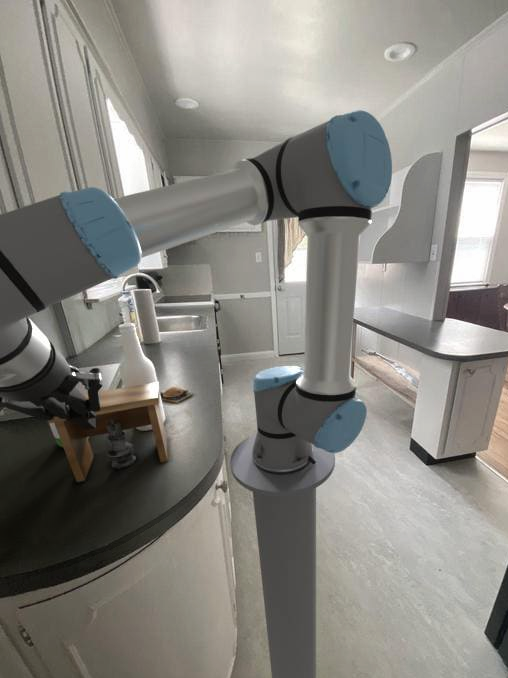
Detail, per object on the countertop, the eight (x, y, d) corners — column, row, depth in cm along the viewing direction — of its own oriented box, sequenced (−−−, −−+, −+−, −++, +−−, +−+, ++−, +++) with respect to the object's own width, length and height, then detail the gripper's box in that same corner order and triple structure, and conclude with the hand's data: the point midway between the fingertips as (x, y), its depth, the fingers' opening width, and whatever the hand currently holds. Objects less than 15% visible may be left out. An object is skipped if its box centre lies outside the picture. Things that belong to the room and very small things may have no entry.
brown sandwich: (194, 395, 110) (193, 385, 109) (176, 404, 103) (174, 394, 102) (173, 390, 115) (172, 381, 113) (155, 398, 108) (153, 389, 106)
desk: (172, 460, 74) (157, 397, 68) (71, 483, 67) (45, 416, 61) (170, 439, 83) (158, 382, 76) (82, 458, 76) (59, 397, 70)
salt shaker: (138, 452, 78) (127, 411, 73) (134, 466, 72) (122, 422, 68) (113, 456, 76) (100, 414, 72) (107, 471, 71) (93, 427, 66)
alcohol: (153, 414, 97) (131, 320, 85) (172, 420, 93) (151, 322, 81) (128, 427, 90) (100, 326, 78) (147, 434, 86) (120, 329, 74)
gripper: (-73, 401, 29) (47, 452, 50) (83, 378, 33) (133, 434, 54) (-65, 335, 31) (46, 409, 52) (80, 321, 35) (129, 395, 56)
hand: (90, 422), depth 53 cm, fingers closed
